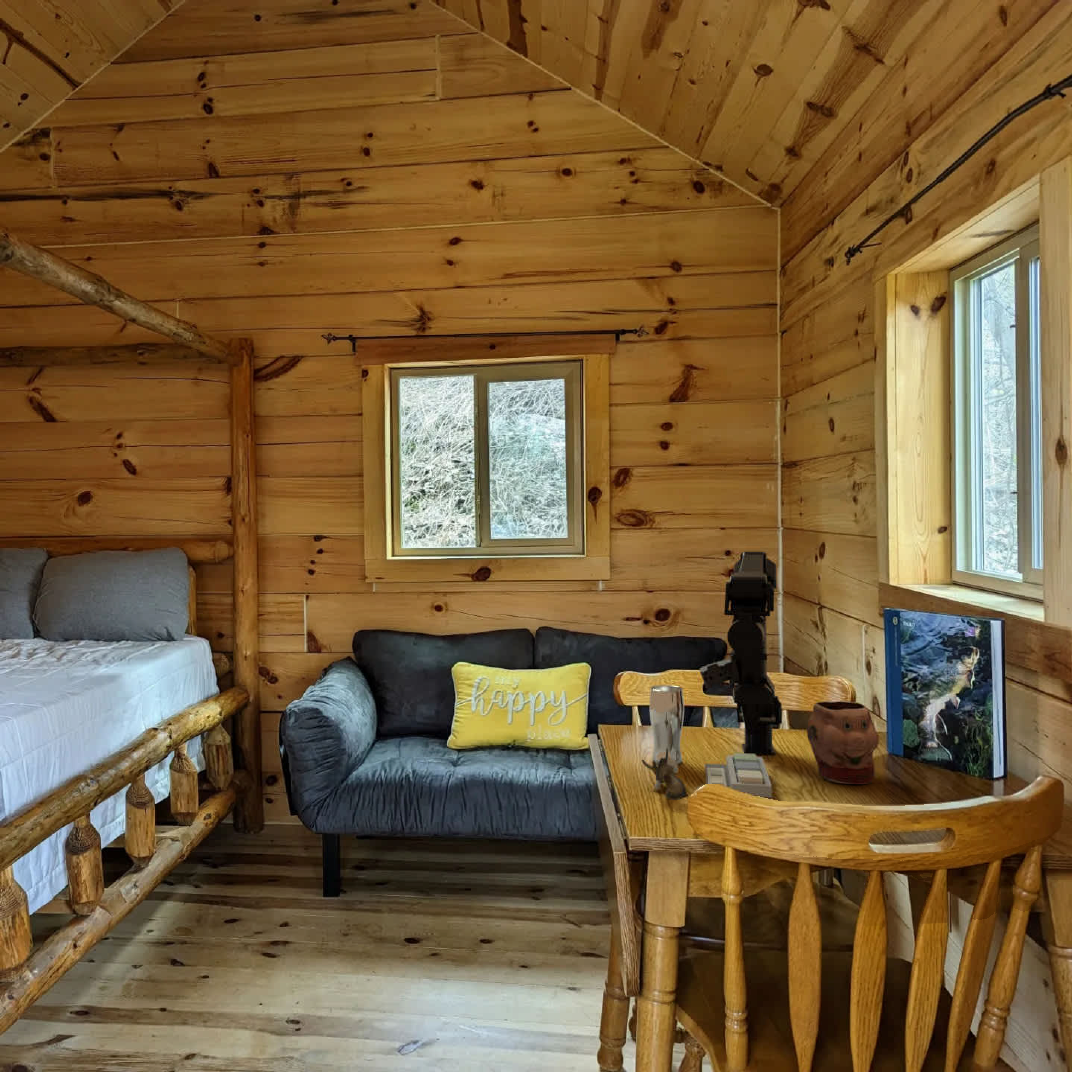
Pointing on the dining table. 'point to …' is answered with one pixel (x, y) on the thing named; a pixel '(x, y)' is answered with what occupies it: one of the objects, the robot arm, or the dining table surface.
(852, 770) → the decorative planter
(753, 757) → the sage key
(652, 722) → the beer glass
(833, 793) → the dining table surface
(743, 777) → the ivory key
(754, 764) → the slate key
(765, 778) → the keypad
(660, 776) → the eagle figurine
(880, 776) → the dining table surface
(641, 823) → the dining table surface
